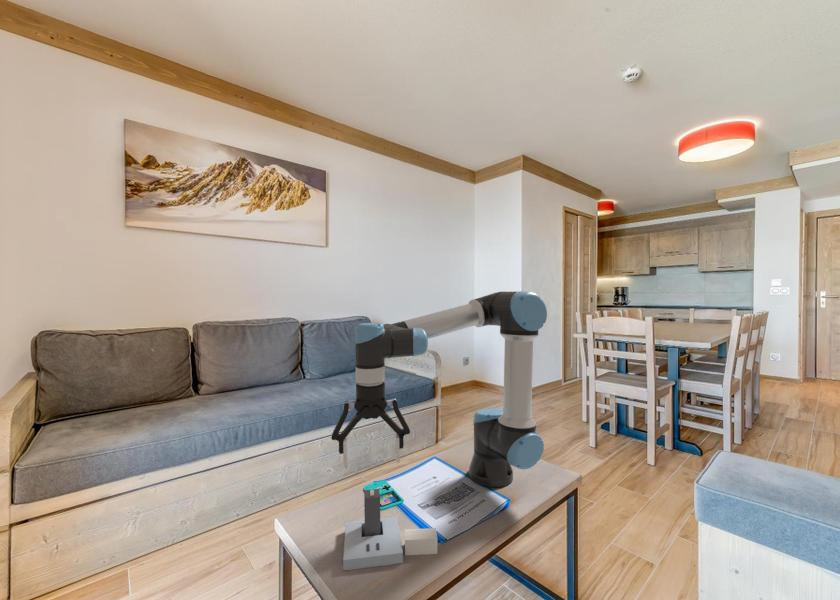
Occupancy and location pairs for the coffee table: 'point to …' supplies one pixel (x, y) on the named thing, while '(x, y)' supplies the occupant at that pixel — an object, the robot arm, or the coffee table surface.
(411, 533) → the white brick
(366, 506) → the charger brick
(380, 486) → the handheld gaming console
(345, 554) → the outlet plate
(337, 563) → the coffee table surface
